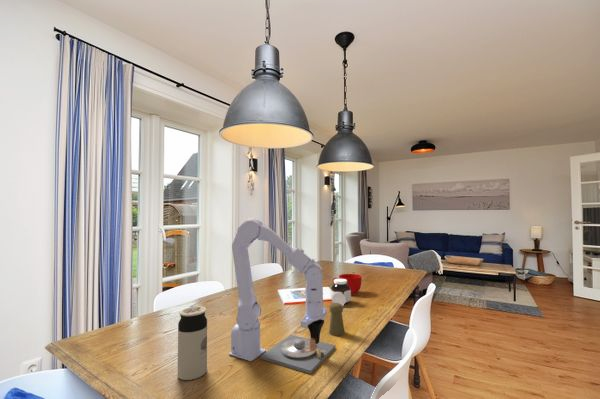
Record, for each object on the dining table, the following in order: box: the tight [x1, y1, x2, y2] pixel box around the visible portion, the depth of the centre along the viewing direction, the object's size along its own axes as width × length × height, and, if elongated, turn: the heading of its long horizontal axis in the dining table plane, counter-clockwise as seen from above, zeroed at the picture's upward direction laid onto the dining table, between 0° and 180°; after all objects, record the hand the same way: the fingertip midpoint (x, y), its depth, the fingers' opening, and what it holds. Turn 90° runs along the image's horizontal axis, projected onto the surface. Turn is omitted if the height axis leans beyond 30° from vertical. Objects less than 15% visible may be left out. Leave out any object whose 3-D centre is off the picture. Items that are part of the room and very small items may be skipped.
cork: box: [328, 302, 346, 337], centre depth 109 cm, size 6×6×11 cm
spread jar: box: [330, 278, 352, 307], centre depth 144 cm, size 12×11×12 cm
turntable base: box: [260, 334, 336, 375], centre depth 92 cm, size 18×18×4 cm
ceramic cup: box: [331, 273, 363, 296], centre depth 163 cm, size 13×17×10 cm
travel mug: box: [177, 305, 208, 381], centre depth 82 cm, size 8×8×18 cm
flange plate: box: [281, 336, 326, 359], centre depth 92 cm, size 12×15×4 cm
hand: (315, 342), depth 92 cm, fingers closed, pressing on flange plate
